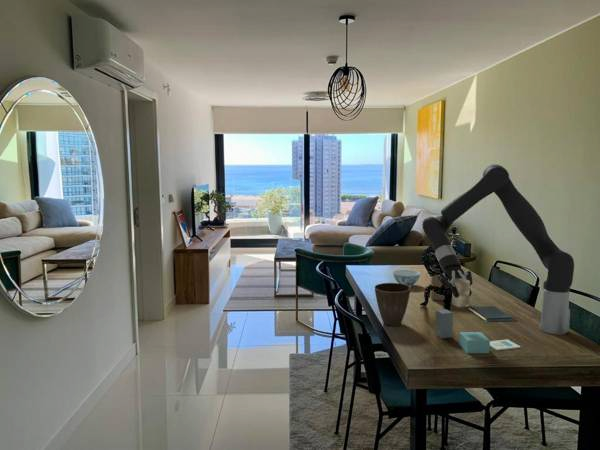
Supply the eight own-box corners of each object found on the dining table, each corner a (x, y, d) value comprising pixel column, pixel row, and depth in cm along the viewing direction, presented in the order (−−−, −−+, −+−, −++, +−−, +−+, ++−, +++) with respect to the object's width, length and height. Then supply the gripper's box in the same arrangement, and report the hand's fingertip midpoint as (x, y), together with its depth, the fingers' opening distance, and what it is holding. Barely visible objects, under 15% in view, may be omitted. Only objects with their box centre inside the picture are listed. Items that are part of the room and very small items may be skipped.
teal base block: (480, 344, 164) (480, 332, 163) (489, 353, 156) (489, 340, 156) (459, 344, 164) (459, 332, 164) (466, 353, 156) (467, 340, 156)
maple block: (462, 302, 170) (463, 278, 169) (468, 306, 166) (469, 280, 165) (451, 303, 169) (452, 278, 168) (458, 307, 165) (459, 281, 164)
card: (507, 340, 167) (507, 339, 167) (520, 347, 160) (520, 346, 160) (484, 343, 165) (484, 341, 165) (496, 350, 158) (496, 348, 158)
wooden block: (450, 296, 226) (452, 258, 224) (451, 301, 217) (453, 262, 214) (430, 295, 229) (431, 257, 227) (431, 300, 220) (432, 261, 217)
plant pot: (384, 331, 178) (384, 293, 176) (368, 319, 192) (368, 284, 190) (416, 327, 182) (417, 290, 180) (398, 316, 196) (399, 281, 194)
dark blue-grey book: (518, 318, 188) (483, 319, 187) (518, 323, 188) (483, 323, 188) (496, 304, 208) (464, 305, 207) (496, 308, 208) (464, 309, 208)
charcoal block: (445, 333, 176) (446, 309, 174) (451, 337, 171) (452, 312, 170) (435, 334, 175) (436, 310, 173) (441, 338, 170) (442, 313, 169)
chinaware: (421, 289, 239) (421, 276, 238) (393, 288, 242) (393, 275, 241) (418, 282, 254) (418, 269, 253) (392, 282, 256) (392, 269, 255)
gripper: (435, 254, 171) (450, 292, 161) (467, 252, 174) (485, 290, 164) (427, 264, 177) (442, 302, 167) (459, 263, 180) (475, 299, 170)
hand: (463, 296), depth 165 cm, fingers closed on maple block, 4 cm apart
